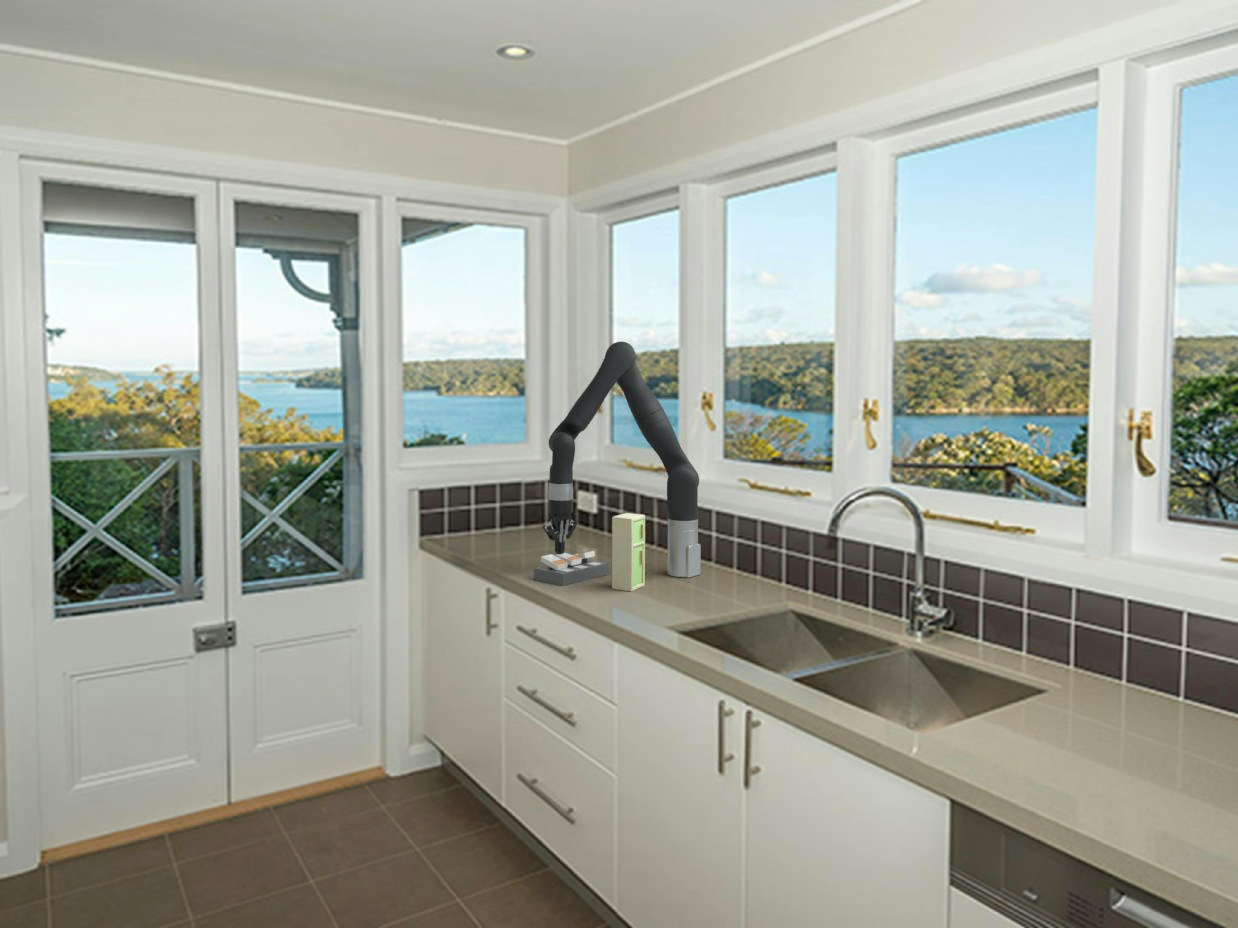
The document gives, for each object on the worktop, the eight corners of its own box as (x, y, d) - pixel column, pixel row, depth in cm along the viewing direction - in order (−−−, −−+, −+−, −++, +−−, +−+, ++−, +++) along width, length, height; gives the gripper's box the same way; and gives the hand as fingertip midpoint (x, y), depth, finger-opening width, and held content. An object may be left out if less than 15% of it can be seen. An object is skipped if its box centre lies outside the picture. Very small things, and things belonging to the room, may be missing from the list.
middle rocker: (581, 563, 284) (581, 557, 284) (571, 565, 281) (571, 560, 280) (564, 557, 288) (565, 552, 288) (554, 559, 285) (555, 554, 285)
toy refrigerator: (633, 592, 265) (633, 518, 263) (611, 588, 269) (611, 516, 267) (647, 586, 272) (647, 514, 270) (625, 583, 276) (625, 512, 274)
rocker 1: (567, 568, 280) (568, 562, 279) (556, 570, 276) (557, 564, 276) (550, 558, 284) (551, 553, 283) (540, 561, 281) (541, 555, 280)
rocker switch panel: (617, 572, 291) (617, 558, 290) (562, 585, 273) (562, 571, 272) (588, 566, 298) (588, 553, 298) (534, 579, 280) (534, 565, 280)
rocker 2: (595, 556, 288) (594, 550, 288) (585, 558, 285) (584, 552, 285) (579, 558, 293) (578, 553, 293) (569, 561, 290) (568, 555, 290)
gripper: (553, 501, 277) (553, 558, 279) (584, 496, 287) (583, 552, 289) (536, 498, 282) (535, 554, 284) (567, 493, 292) (566, 548, 294)
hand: (559, 553), depth 287 cm, fingers closed
